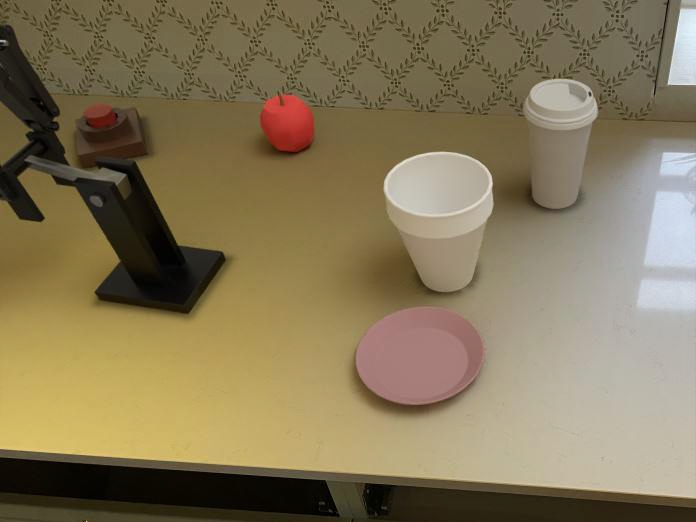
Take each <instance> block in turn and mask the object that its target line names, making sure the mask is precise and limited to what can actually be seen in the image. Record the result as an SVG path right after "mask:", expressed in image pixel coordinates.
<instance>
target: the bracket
mask: <svg viewBox="0 0 696 522" xmlns="http://www.w3.org/2000/svg"><path fill="white" fill-rule="evenodd" d="M95 163H96V165H97V166H96V167H97V168H98V171H99V170H100V169H101V168H102V167H103V168H106V169H110V170H113V171H117V172H120V173H124V174H127V176H128V179H129V182H130V186H131V189H132V193H131V194H130V195H129V196H128V197H127V198H126V199H125V200H124V198H123V196H122V194H121V193H120V191H119V189H118V187H117V185H116V184H115V182H112V181H104V180H96V179H88V178H81V177H77V178H76V179H75V180H74V181H73V184H74V186H75V187H74V188H75V190H76V191H77V192H78V194H79V196H80V197H81V199H82V201H83V202H84V204H85V206H86V207H87V209H88V211H89V212H90V214H91V215H92V217H93V218H94V221H95V222H96V223H97V225H98V227H99V228H100V230H101V231H102V233H103V235H104V237H105V238H106V240H107V241H108V243H109V244H110V247H111V248H112V250H113V251H114V253H115V254H116V256H117V257H118V259H119V262H118V263H117V265H116V266H114V268H113V269H112V270H111V271H110V273H109V274H108V275H107V276H106V277H105V278H104V279H103V281H102V282H101V283H100V284H99V286H98V287H97V288H96V289H95V290H94V294H95V295H96V297H97V298H98V299H99V301H105V302H111V303H112V302H113V303H117V304H124V305H131V306H138V307H143V308H149V309H150V308H151V309H157V310H161V311H170V312H174V313H175V312H176V313H184V314H189V313H190V312H191V311H192V309H193V308H194V306H195V305H196V304H197V302H198V301H199V299H200V298H201V297H202V295H203V294H204V293H205V291H206V289H207V288H208V286H209V285H210V284H211V282H212V280H213V279H214V278H215V277H216V275H217V274H218V272H219V270H220V269H221V268H222V267H223V265H224V264H225V262H226V260H227V258H226V256H225V253H224V252H223V250H215V249H207V248H199V247H193V246H186V245H180V244H178V242H177V241H176V240H177V239H176V238H175V236H174V235H173V232H172V230H171V229H170V227H169V225H168V223H167V220H166V219H165V216H164V214H163V213H162V211H161V209H160V206H159V205H158V203H157V200H156V198H155V197H154V195H153V193H152V191H151V189H150V187H149V185H148V183H147V181H146V180H145V177H144V176H143V174H142V171H141V169H140V167H139V166H138V163H137V162H136V160H132V159H117V158H109V157H101V156H99V157H98V158H97V159H96V160H95Z"/></svg>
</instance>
